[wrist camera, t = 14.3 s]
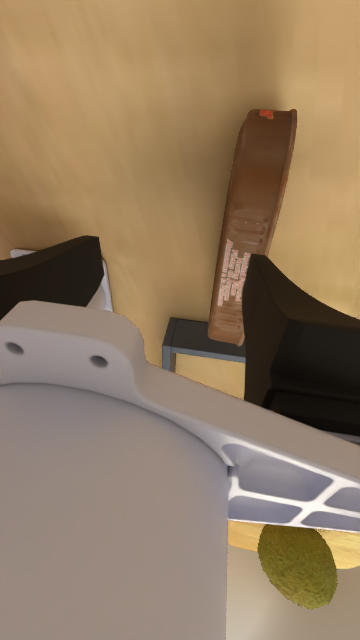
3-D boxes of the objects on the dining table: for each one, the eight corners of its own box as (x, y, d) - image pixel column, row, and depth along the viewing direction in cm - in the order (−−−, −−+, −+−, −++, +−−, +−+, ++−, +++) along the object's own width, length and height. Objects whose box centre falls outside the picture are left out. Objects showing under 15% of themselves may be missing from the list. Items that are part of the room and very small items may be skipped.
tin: (242, 303, 26) (244, 371, 20) (210, 299, 27) (201, 365, 20) (290, 106, 16) (324, 115, 10) (238, 102, 17) (239, 110, 10)
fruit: (244, 521, 68) (243, 589, 54) (282, 487, 64) (291, 550, 50) (299, 565, 67) (313, 647, 52) (341, 532, 62) (368, 611, 48)
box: (168, 415, 42) (162, 442, 38) (170, 317, 29) (162, 345, 26) (258, 430, 40) (259, 459, 37) (302, 335, 28) (310, 366, 24)
